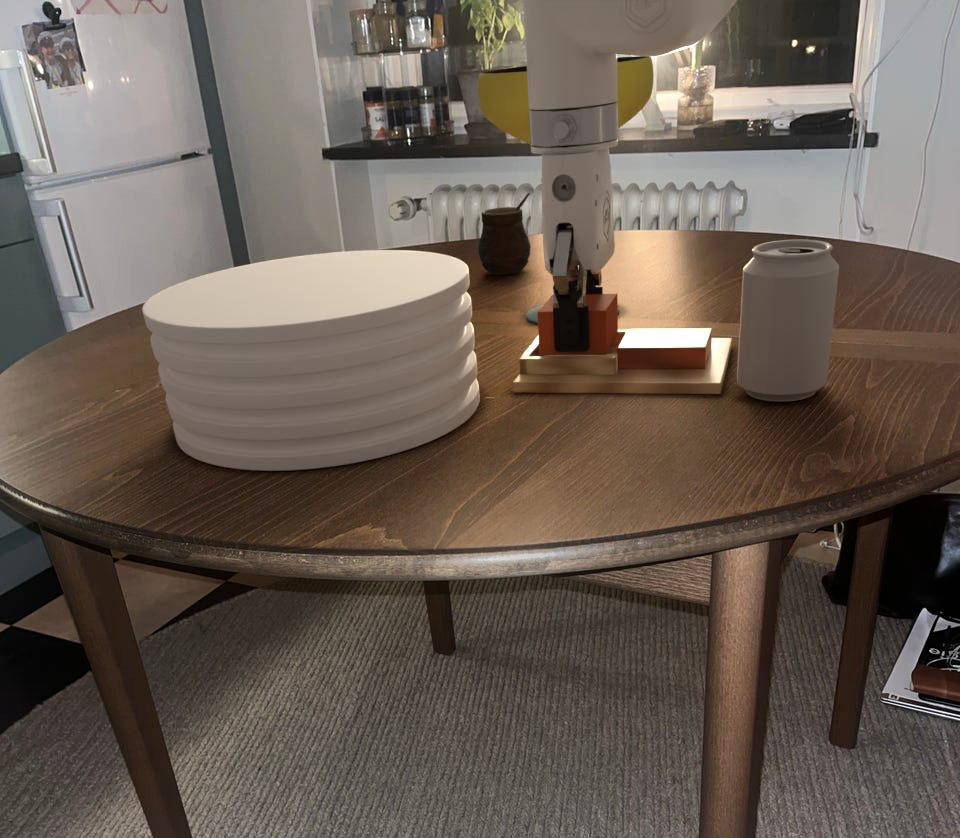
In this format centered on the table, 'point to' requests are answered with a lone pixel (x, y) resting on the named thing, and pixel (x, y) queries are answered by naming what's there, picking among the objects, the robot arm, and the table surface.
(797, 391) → the can
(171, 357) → the plate stack
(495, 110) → the cocktail glass
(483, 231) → the mate gourd
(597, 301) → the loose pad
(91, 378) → the table surface
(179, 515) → the table surface
